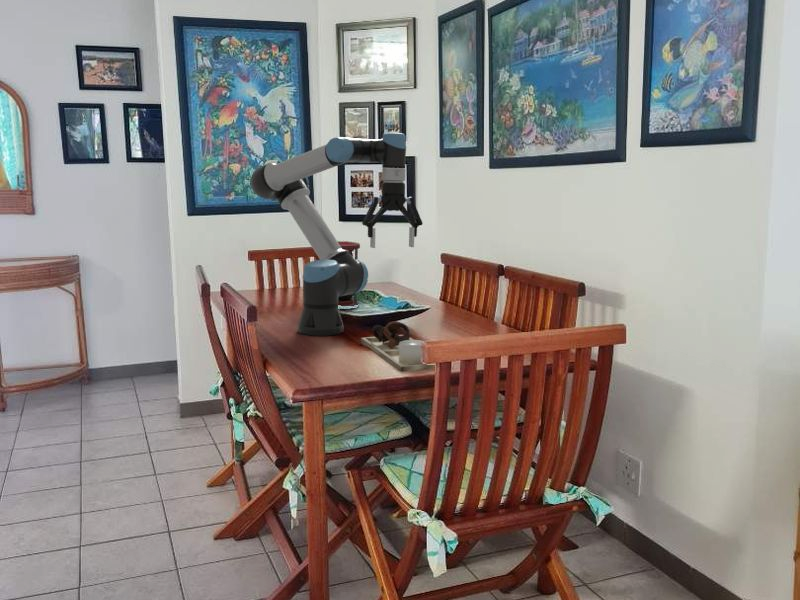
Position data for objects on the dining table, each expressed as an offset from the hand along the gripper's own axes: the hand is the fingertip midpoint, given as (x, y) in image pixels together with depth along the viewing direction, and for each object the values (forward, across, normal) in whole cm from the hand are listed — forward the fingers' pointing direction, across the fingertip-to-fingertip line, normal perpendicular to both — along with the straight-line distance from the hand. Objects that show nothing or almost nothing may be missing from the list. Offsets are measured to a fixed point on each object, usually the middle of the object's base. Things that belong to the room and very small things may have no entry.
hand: (392, 247), depth 241 cm
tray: (+29, -7, -30) cm, 42 cm away
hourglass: (+29, -4, +48) cm, 56 cm away
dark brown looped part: (+28, -7, -20) cm, 35 cm away
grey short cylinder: (+28, -7, -38) cm, 48 cm away
